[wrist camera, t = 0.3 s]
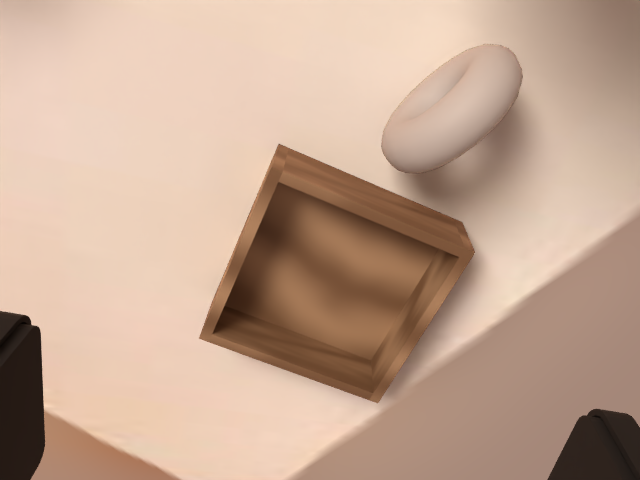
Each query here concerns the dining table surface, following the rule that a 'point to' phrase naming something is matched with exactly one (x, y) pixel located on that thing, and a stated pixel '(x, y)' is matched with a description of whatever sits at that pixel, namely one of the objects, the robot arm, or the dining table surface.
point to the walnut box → (334, 276)
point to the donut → (452, 109)
